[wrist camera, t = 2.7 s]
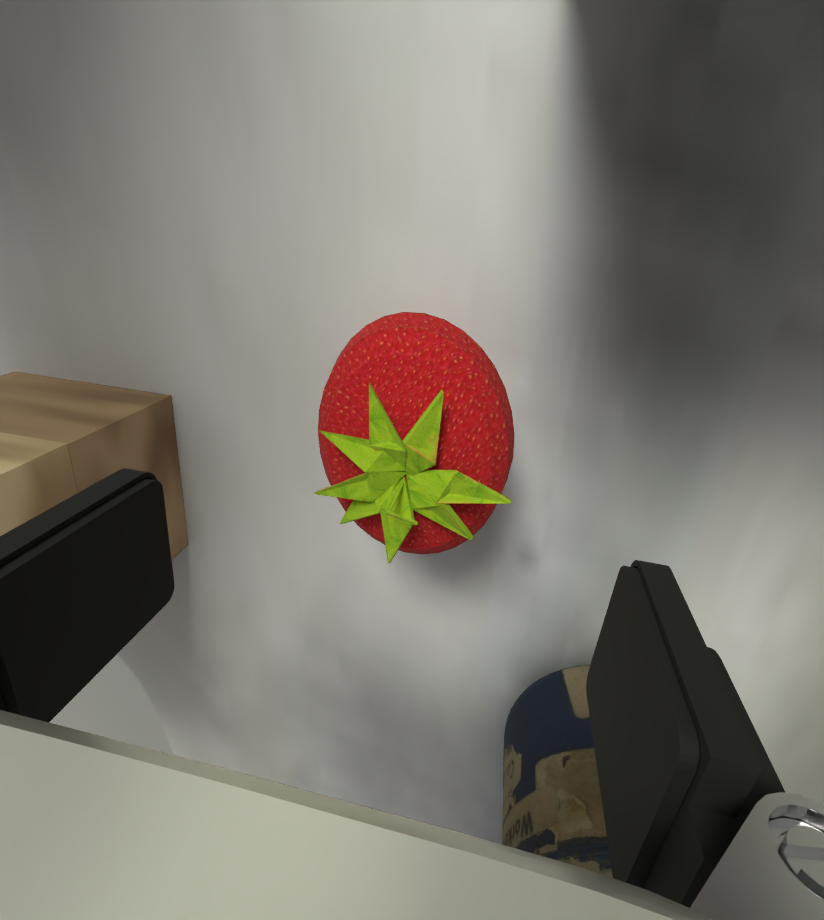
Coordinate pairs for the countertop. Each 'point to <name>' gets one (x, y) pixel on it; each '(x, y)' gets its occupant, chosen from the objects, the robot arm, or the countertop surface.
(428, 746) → the countertop surface
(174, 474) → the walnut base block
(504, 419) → the strawberry
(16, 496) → the oak top block
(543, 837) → the canister
